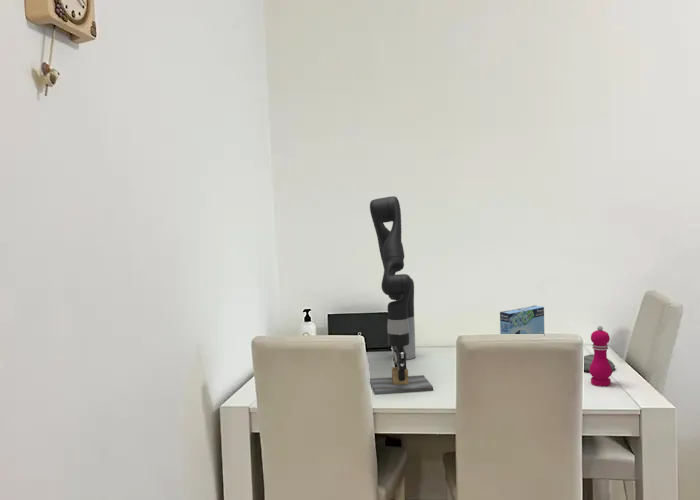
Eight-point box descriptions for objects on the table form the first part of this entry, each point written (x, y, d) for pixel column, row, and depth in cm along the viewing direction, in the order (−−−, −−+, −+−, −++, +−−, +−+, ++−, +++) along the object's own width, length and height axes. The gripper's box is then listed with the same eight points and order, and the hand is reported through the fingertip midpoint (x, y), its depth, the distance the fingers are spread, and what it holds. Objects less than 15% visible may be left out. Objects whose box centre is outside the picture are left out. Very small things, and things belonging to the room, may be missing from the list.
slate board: (369, 381, 238) (369, 378, 237) (423, 378, 239) (423, 375, 239) (375, 394, 222) (374, 391, 222) (433, 390, 223) (433, 387, 223)
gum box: (535, 363, 254) (534, 305, 253) (546, 366, 250) (545, 306, 248) (500, 372, 244) (498, 311, 242) (510, 375, 239) (509, 313, 238)
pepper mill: (611, 381, 226) (610, 324, 224) (612, 387, 219) (612, 328, 218) (589, 380, 228) (588, 323, 227) (589, 386, 221) (588, 327, 220)
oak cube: (392, 381, 233) (391, 367, 232) (405, 380, 233) (405, 366, 233) (394, 385, 228) (393, 370, 227) (408, 384, 228) (407, 370, 228)
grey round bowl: (574, 373, 239) (573, 359, 238) (570, 363, 253) (570, 349, 253) (618, 374, 235) (617, 359, 235) (611, 364, 250) (611, 350, 249)
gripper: (384, 328, 236) (386, 373, 237) (390, 335, 222) (392, 383, 223) (405, 327, 237) (406, 372, 238) (412, 334, 222) (414, 382, 223)
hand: (399, 377), depth 230 cm, fingers open, 7 cm apart
